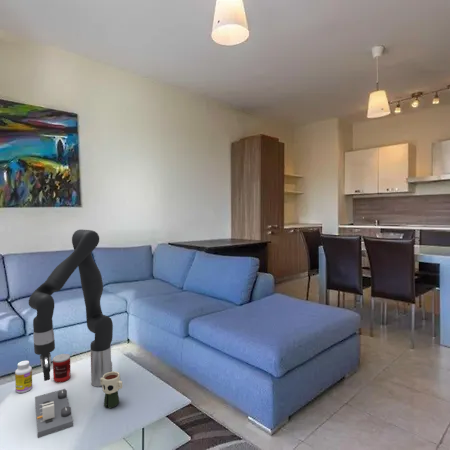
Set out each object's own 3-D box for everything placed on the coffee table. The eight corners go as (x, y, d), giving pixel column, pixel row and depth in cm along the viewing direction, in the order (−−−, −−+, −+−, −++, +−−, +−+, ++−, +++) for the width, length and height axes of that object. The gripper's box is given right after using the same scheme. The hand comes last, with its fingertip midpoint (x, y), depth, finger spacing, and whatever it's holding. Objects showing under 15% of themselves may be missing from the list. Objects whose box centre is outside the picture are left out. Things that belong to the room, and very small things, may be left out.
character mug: (95, 407, 138) (94, 377, 137) (106, 397, 145) (105, 369, 144) (117, 411, 135) (117, 381, 134) (127, 401, 142) (126, 373, 141)
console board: (65, 392, 148) (65, 383, 148) (73, 425, 126) (72, 415, 126) (35, 401, 142) (34, 391, 142) (37, 437, 120) (37, 426, 120)
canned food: (65, 372, 166) (64, 352, 165) (73, 377, 161) (73, 356, 160) (50, 379, 159) (49, 357, 159) (58, 384, 155) (57, 362, 154)
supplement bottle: (24, 394, 147) (23, 367, 146) (12, 392, 148) (11, 365, 147) (35, 386, 153) (35, 360, 153) (24, 384, 155) (23, 358, 154)
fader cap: (54, 413, 130) (53, 400, 130) (54, 417, 128) (54, 404, 127) (42, 416, 128) (41, 404, 128) (42, 420, 126) (42, 408, 125)
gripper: (55, 343, 131) (58, 384, 132) (52, 332, 142) (55, 369, 144) (34, 348, 127) (37, 390, 128) (33, 336, 138) (36, 375, 139)
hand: (47, 379), depth 136 cm, fingers closed
